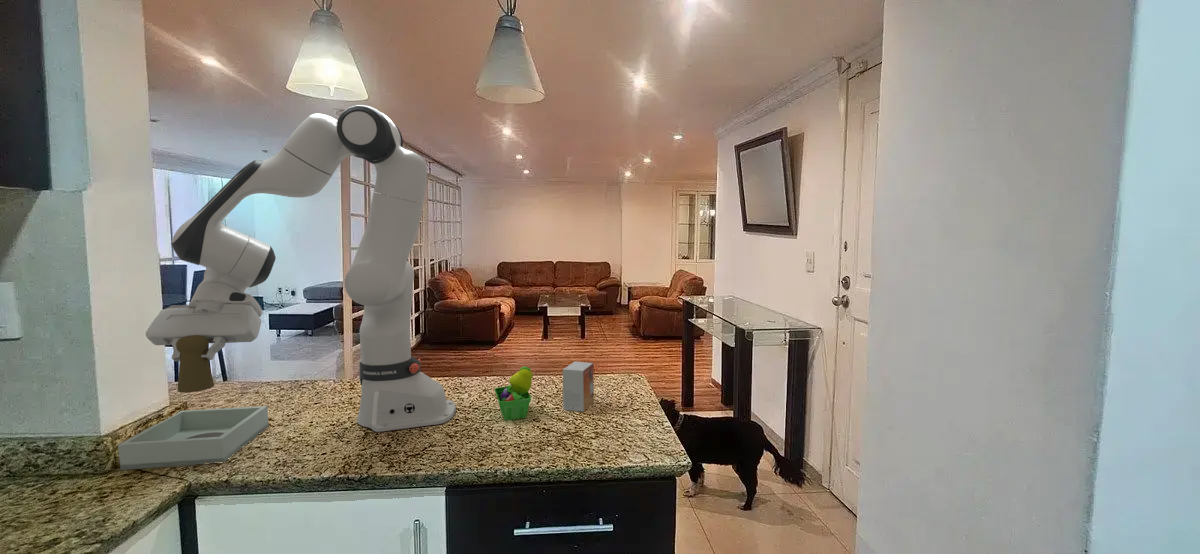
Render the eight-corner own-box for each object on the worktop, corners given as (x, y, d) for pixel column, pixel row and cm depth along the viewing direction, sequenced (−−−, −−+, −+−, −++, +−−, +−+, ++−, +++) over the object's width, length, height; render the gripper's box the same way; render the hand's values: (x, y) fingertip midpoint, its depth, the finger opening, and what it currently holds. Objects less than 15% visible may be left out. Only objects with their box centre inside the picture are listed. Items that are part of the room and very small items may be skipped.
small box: (583, 412, 126) (583, 371, 125) (562, 410, 128) (562, 369, 127) (594, 402, 134) (594, 362, 133) (574, 399, 135) (574, 360, 134)
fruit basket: (494, 407, 130) (493, 363, 129) (528, 403, 133) (528, 360, 132) (499, 423, 120) (498, 376, 118) (537, 418, 122) (536, 372, 121)
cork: (193, 393, 103) (189, 339, 102) (169, 391, 104) (164, 338, 103) (221, 384, 109) (217, 333, 108) (198, 382, 110) (194, 332, 109)
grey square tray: (268, 427, 118) (267, 406, 118) (224, 463, 100) (222, 438, 100) (182, 432, 115) (180, 410, 115) (120, 470, 98) (117, 444, 97)
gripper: (155, 297, 110) (125, 353, 101) (259, 295, 113) (238, 349, 104) (171, 314, 115) (144, 369, 106) (270, 311, 118) (251, 364, 109)
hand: (191, 359), depth 105 cm, fingers closed on cork, 4 cm apart
